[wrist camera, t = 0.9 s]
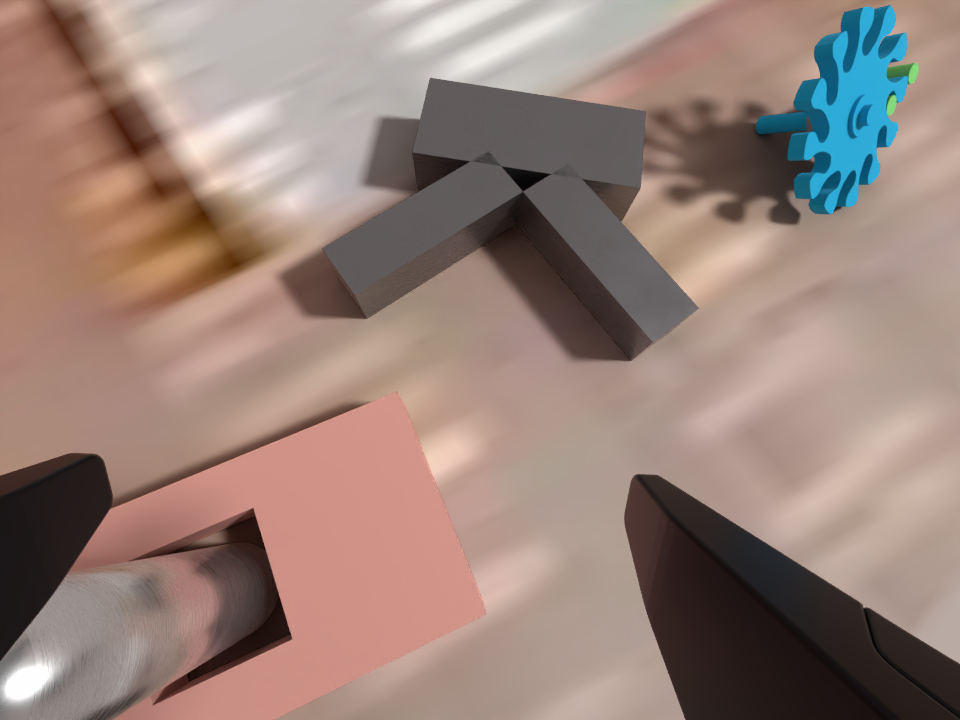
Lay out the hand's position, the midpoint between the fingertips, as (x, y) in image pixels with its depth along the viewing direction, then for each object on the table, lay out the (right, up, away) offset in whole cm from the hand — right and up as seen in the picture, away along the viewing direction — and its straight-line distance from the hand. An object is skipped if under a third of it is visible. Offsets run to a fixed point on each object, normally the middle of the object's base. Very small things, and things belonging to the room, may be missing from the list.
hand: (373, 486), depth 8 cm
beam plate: (-9, -8, +13) cm, 18 cm away
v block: (+4, +10, +19) cm, 22 cm away
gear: (+22, +14, +22) cm, 34 cm away
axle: (-9, -8, +13) cm, 18 cm away
